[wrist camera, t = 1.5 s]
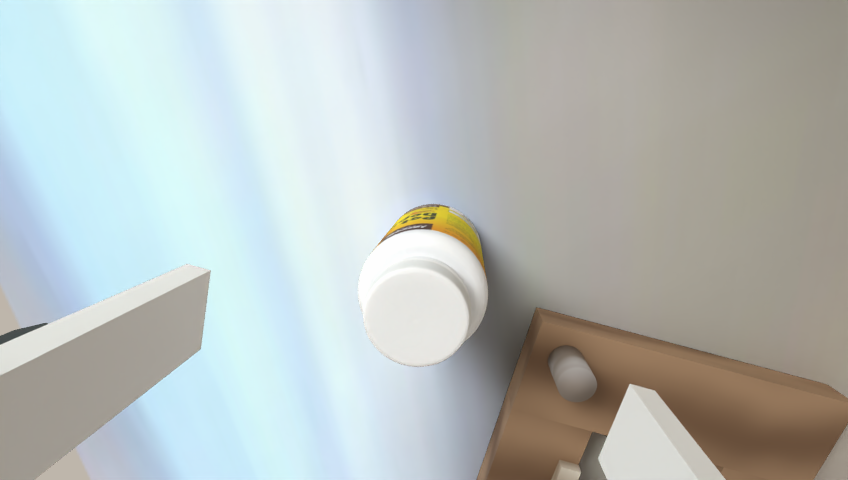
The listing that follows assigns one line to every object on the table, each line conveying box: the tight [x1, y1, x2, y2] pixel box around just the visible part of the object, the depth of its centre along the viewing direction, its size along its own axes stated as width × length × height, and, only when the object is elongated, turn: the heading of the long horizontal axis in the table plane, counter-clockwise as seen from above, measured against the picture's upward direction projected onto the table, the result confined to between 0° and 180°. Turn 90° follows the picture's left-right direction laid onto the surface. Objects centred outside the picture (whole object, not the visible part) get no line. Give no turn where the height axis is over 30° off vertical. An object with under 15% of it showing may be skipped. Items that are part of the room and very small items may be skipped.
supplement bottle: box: [358, 204, 488, 367], centre depth 20 cm, size 6×6×10 cm
